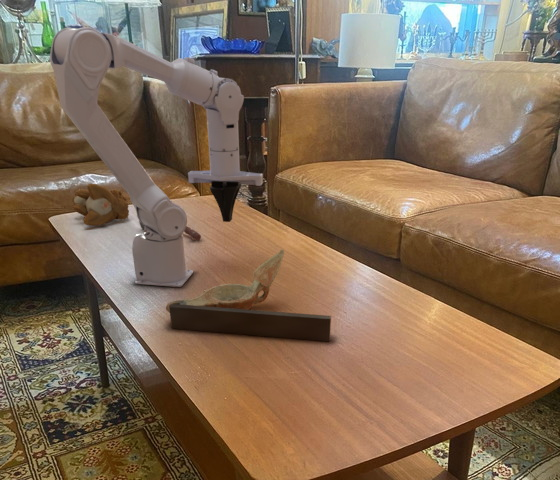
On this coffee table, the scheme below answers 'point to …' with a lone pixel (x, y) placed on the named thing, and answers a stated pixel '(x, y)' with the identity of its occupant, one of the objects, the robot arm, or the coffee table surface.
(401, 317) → the coffee table surface
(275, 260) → the oil lamp
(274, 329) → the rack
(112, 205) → the stuffed squirrel
